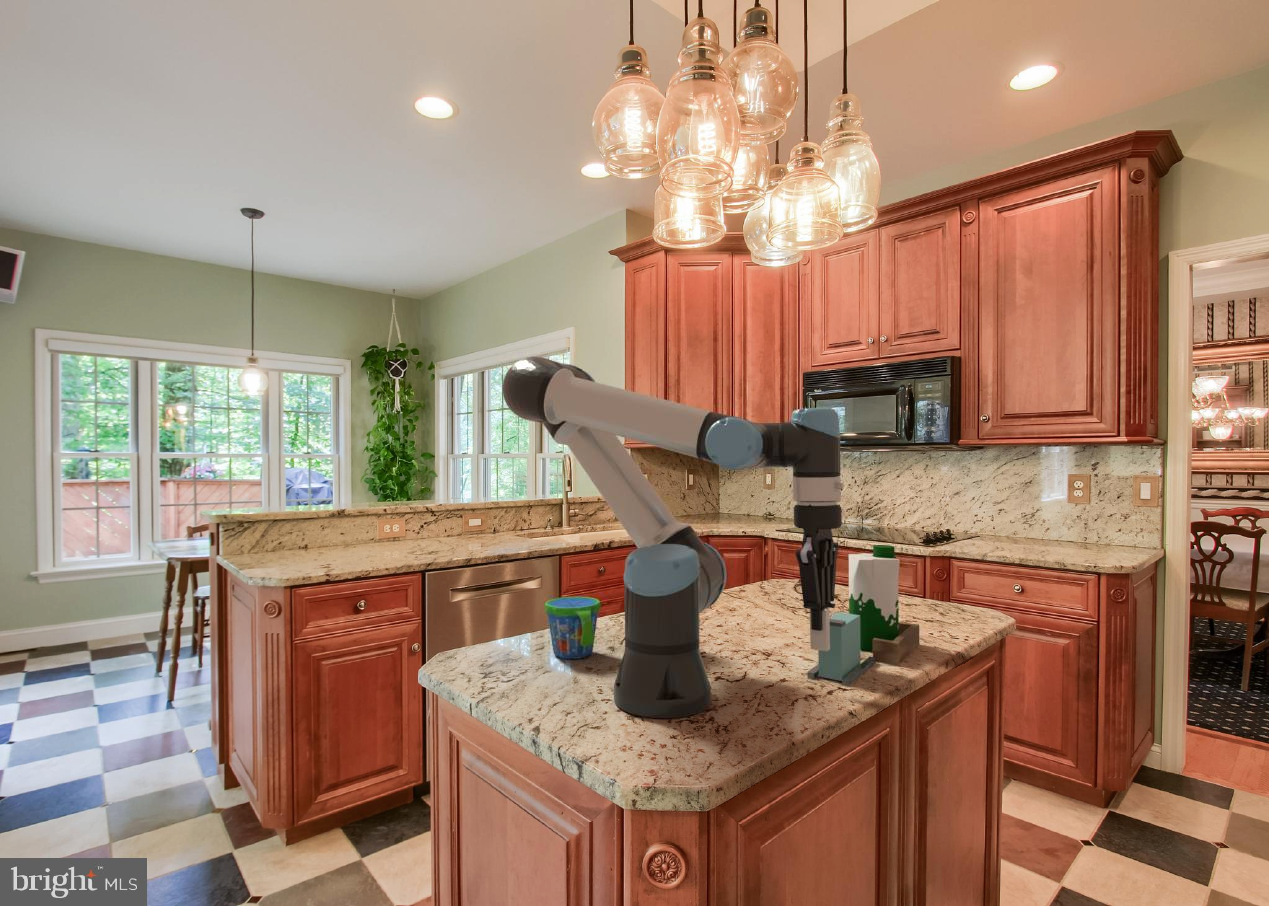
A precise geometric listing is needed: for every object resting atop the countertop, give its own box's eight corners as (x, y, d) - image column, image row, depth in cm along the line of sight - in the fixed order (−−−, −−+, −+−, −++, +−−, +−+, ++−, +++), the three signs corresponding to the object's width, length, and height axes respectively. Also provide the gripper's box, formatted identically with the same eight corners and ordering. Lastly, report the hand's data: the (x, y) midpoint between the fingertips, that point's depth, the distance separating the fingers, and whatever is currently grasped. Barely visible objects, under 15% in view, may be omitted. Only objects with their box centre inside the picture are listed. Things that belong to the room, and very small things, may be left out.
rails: (807, 677, 109) (807, 671, 109) (837, 655, 121) (837, 650, 121) (849, 686, 104) (849, 680, 104) (876, 663, 116) (876, 657, 116)
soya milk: (904, 652, 122) (903, 549, 123) (857, 652, 123) (856, 549, 123) (889, 640, 131) (888, 543, 131) (844, 639, 132) (843, 543, 132)
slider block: (818, 676, 108) (817, 619, 109) (838, 661, 116) (837, 608, 117) (842, 681, 106) (841, 623, 106) (860, 665, 114) (860, 612, 114)
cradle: (820, 651, 123) (820, 630, 123) (848, 633, 136) (847, 614, 137) (897, 665, 115) (897, 643, 115) (919, 644, 128) (919, 624, 128)
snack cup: (537, 646, 128) (537, 595, 128) (587, 640, 131) (587, 591, 131) (555, 670, 113) (555, 613, 113) (611, 663, 117) (611, 608, 117)
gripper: (825, 506, 96) (828, 663, 95) (853, 501, 106) (856, 643, 106) (778, 505, 100) (782, 655, 100) (810, 500, 111) (812, 636, 110)
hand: (820, 648), depth 103 cm, fingers closed
